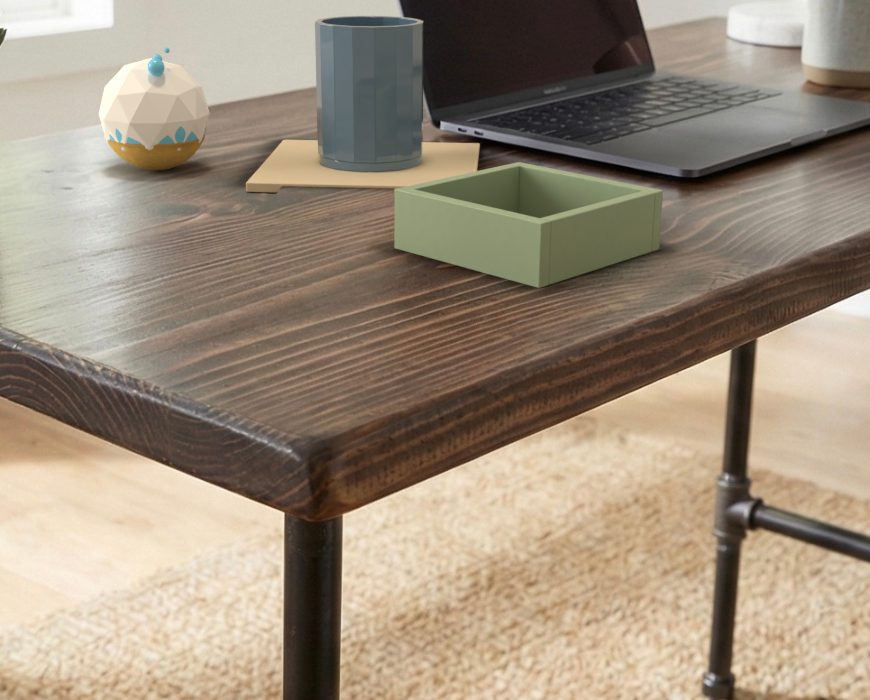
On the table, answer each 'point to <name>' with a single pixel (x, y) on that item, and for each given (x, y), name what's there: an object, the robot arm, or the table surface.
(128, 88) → the ornament
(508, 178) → the open square box
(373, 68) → the cup
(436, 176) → the wooden board
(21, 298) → the table surface
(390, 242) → the table surface
